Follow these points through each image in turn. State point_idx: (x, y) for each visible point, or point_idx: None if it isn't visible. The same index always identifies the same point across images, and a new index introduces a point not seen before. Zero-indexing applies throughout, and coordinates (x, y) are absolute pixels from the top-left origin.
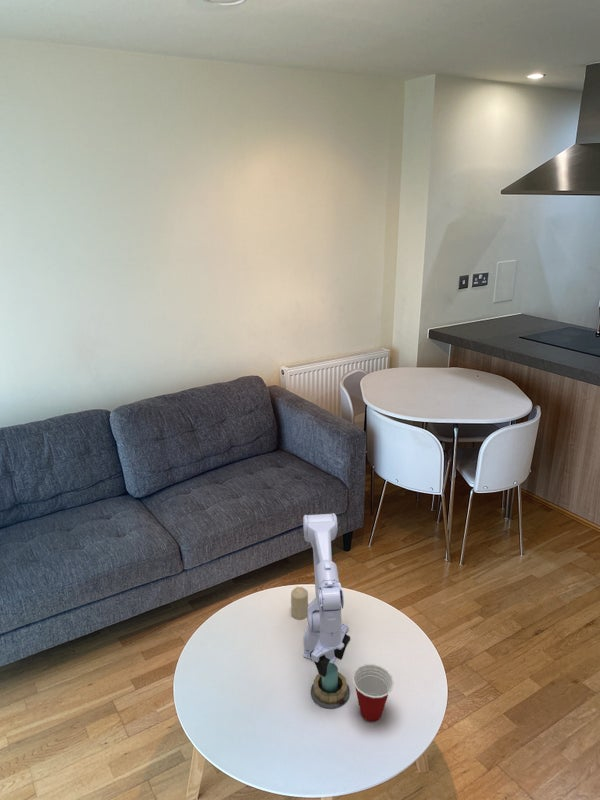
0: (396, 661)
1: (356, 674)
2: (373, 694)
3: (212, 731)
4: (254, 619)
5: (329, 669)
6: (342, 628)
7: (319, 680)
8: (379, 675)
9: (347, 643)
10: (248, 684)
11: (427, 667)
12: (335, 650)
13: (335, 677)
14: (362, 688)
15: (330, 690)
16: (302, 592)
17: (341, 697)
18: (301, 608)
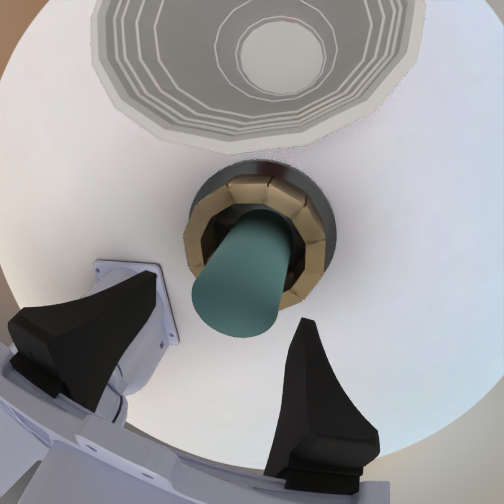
0: (55, 94)
1: (232, 131)
2: (219, 58)
3: (445, 410)
4: (161, 423)
5: (237, 304)
6: (6, 408)
7: None
8: (145, 19)
9: (54, 315)
10: None
11: (48, 20)
12: (133, 330)
13: (254, 255)
14: (235, 99)
15: (286, 241)
16: None
17: (285, 185)
18: None
